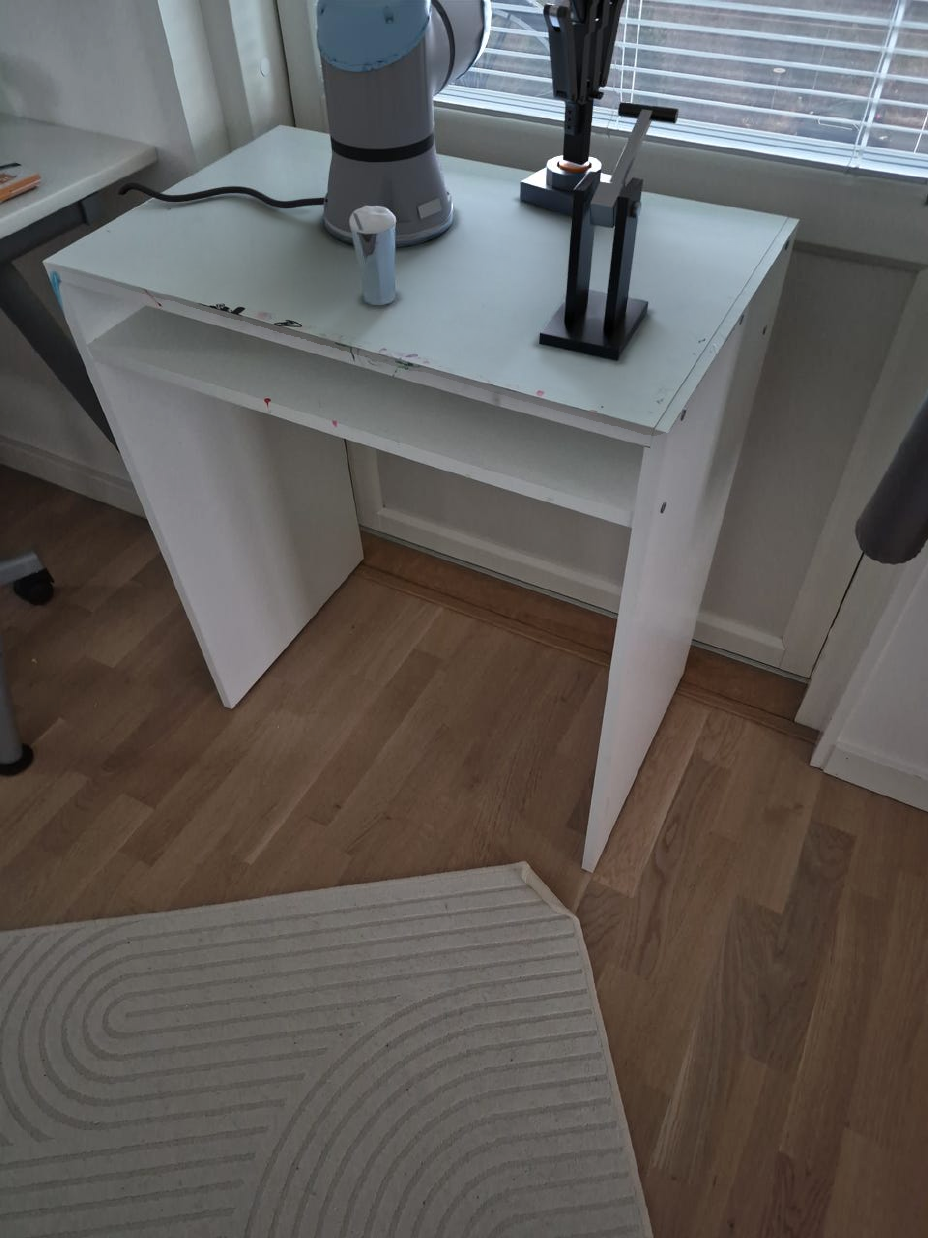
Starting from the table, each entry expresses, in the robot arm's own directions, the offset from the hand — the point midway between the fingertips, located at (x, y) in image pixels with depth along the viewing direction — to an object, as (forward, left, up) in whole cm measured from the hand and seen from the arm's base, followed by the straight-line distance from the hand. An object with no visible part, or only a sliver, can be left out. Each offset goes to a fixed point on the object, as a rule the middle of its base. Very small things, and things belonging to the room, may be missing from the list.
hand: (575, 160), depth 105 cm
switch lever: (+17, -19, +8) cm, 27 cm away
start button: (0, 0, -2) cm, 2 cm away
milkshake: (-2, -33, -5) cm, 33 cm away
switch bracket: (+19, -24, -5) cm, 31 cm away
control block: (0, 0, -5) cm, 5 cm away
